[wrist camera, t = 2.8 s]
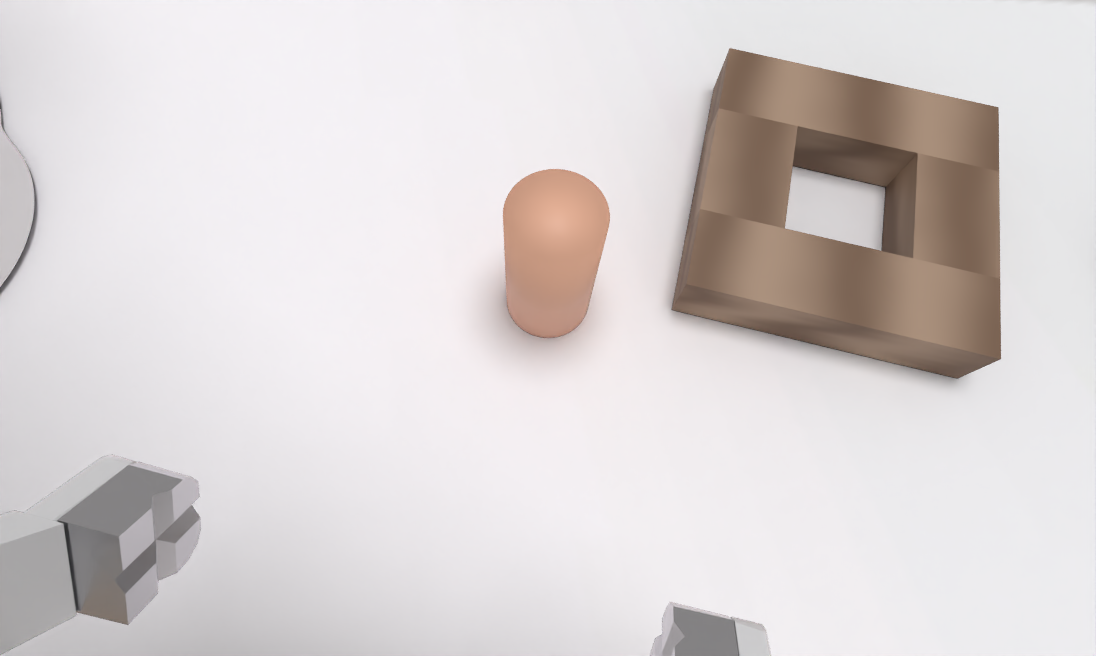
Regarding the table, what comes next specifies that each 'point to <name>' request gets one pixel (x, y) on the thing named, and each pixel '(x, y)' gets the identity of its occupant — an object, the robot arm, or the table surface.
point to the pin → (552, 249)
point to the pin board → (833, 266)
